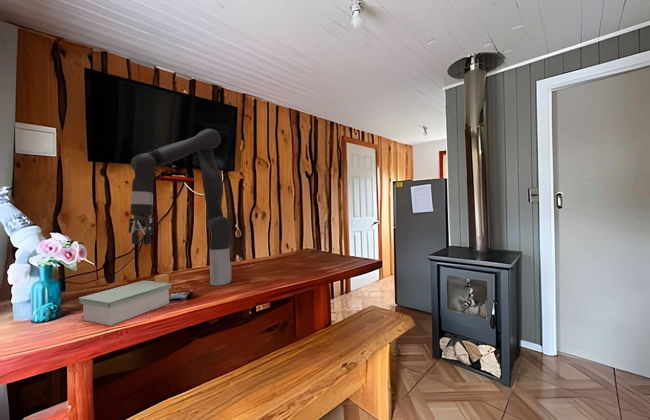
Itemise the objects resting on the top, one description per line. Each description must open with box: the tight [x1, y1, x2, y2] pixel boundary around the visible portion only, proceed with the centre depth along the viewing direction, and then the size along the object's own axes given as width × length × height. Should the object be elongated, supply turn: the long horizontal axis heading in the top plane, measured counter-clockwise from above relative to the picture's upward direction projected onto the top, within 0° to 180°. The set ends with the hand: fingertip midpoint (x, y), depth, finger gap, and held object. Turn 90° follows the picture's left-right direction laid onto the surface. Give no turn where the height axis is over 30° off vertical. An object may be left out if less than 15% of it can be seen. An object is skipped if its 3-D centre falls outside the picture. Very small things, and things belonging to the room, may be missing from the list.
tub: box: [82, 289, 170, 326], centre depth 101 cm, size 21×14×7 cm, turn 159°
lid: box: [78, 273, 173, 308], centre depth 102 cm, size 27×16×4 cm, turn 159°
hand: (140, 244), depth 110 cm, fingers open, 8 cm apart
